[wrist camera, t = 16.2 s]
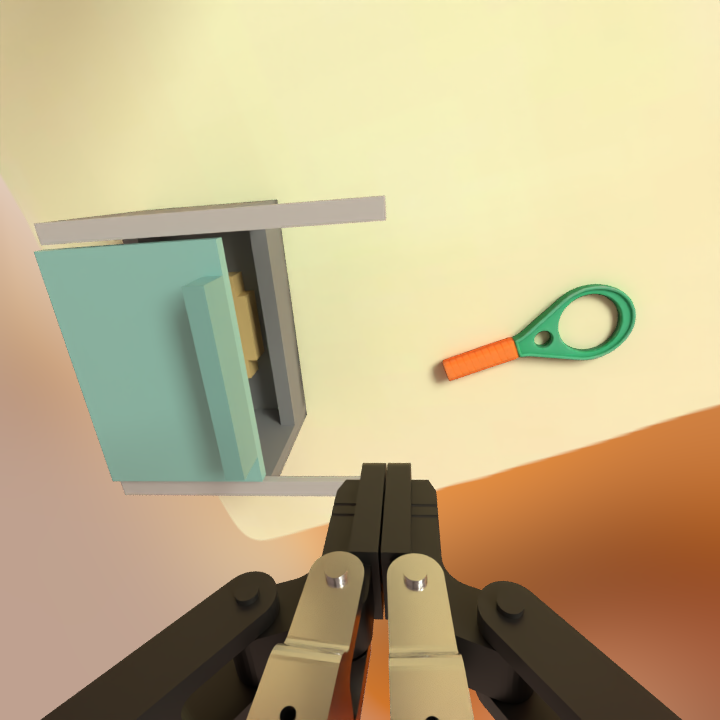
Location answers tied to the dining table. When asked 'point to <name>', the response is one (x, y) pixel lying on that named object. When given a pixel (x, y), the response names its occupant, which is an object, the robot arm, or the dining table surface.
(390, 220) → the dining table surface
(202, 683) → the robot arm
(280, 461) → the housing
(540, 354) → the magnifying glass
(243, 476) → the lid
